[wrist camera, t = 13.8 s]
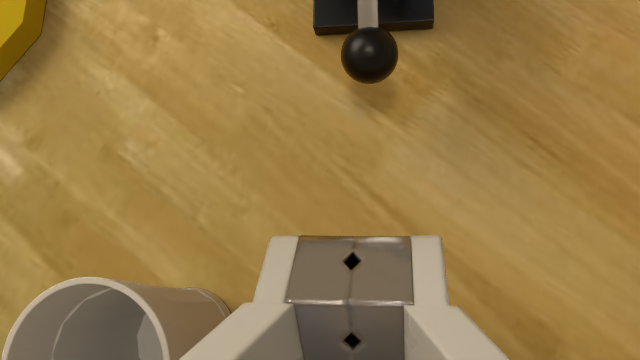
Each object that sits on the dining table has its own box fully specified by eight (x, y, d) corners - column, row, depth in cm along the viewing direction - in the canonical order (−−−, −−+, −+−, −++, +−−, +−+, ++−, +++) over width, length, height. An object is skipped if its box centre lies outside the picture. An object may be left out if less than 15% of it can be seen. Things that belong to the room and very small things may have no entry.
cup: (113, 311, 36) (-26, 331, 24) (215, 253, 35) (124, 244, 24) (162, 424, 34) (38, 504, 22) (269, 364, 34) (201, 413, 22)
